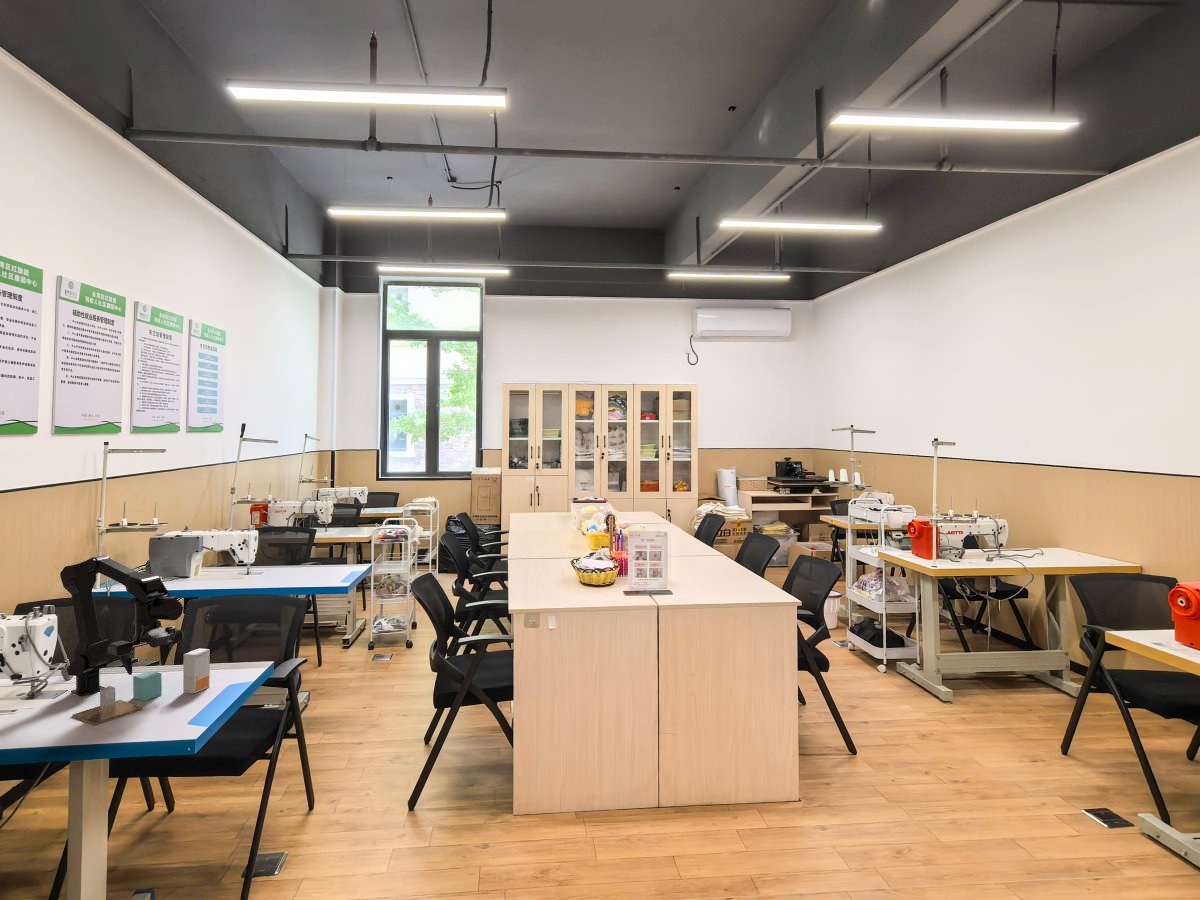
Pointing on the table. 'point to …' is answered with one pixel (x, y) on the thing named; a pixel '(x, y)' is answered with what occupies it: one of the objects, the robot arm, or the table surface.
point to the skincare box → (196, 670)
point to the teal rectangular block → (147, 685)
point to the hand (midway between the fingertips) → (146, 669)
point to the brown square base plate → (107, 708)
